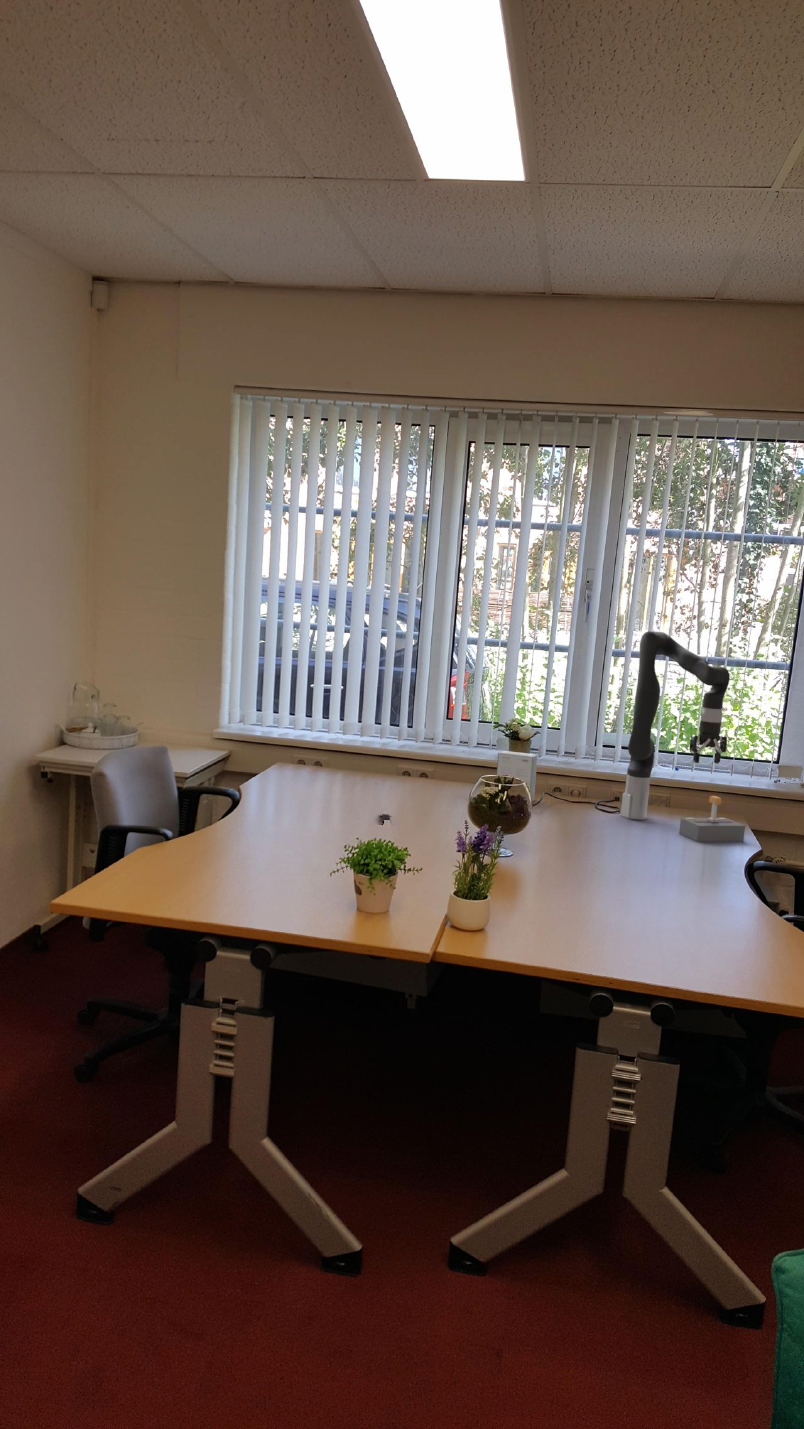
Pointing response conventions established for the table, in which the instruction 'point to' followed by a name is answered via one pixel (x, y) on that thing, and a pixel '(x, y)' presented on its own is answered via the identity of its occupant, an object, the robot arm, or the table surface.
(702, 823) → the switch box
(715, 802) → the breaker handle
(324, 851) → the table surface
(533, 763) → the hard drive box
